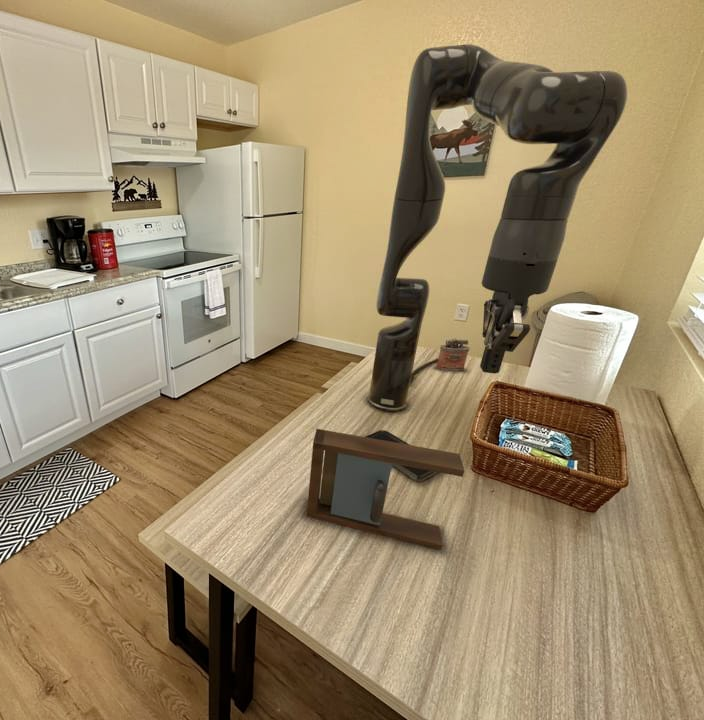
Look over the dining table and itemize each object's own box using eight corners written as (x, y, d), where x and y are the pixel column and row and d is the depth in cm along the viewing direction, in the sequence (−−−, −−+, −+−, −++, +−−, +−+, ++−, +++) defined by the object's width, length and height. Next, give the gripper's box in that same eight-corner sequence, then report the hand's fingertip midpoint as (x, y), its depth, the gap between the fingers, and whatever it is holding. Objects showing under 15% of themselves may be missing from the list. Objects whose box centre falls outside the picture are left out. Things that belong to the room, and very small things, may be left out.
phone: (383, 428, 89) (444, 465, 77) (382, 433, 90) (443, 469, 78) (359, 439, 86) (419, 478, 74) (358, 443, 86) (418, 483, 74)
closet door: (331, 509, 67) (338, 449, 62) (380, 521, 64) (392, 459, 59) (328, 526, 64) (336, 463, 58) (380, 539, 61) (393, 475, 56)
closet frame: (309, 500, 71) (316, 428, 64) (437, 531, 64) (459, 453, 58) (306, 516, 67) (313, 442, 61) (441, 550, 61) (464, 470, 54)
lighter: (437, 370, 119) (444, 340, 115) (434, 366, 122) (440, 336, 118) (465, 372, 118) (473, 341, 114) (461, 367, 121) (468, 337, 117)
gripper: (478, 246, 58) (453, 352, 65) (503, 261, 47) (469, 387, 54) (538, 248, 56) (505, 357, 63) (579, 264, 44) (533, 395, 51)
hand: (488, 370), depth 58 cm, fingers closed
